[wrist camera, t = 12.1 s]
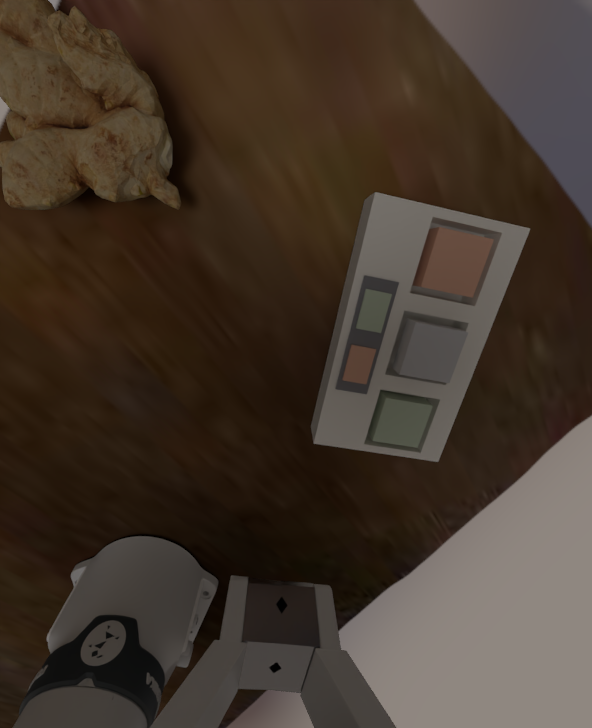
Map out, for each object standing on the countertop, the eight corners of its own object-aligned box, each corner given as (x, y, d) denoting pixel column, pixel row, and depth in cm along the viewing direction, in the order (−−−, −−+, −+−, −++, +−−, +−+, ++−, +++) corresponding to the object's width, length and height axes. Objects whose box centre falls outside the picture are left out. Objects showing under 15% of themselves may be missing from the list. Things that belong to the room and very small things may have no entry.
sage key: (410, 437, 35) (417, 447, 33) (367, 430, 34) (372, 440, 33) (424, 397, 33) (433, 405, 32) (380, 390, 33) (386, 398, 31)
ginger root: (174, 264, 29) (109, 250, 21) (28, 205, 30) (-84, 171, 22) (226, 72, 25) (170, -31, 17) (56, 14, 26) (-68, -107, 18)
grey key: (439, 375, 31) (449, 383, 29) (392, 367, 31) (399, 374, 29) (456, 327, 30) (468, 332, 28) (407, 318, 29) (415, 322, 27)
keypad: (424, 444, 37) (439, 464, 34) (310, 426, 36) (314, 445, 32) (503, 232, 30) (533, 228, 26) (364, 199, 29) (376, 191, 25)
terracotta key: (460, 295, 30) (472, 297, 28) (412, 285, 30) (420, 286, 28) (480, 240, 29) (494, 239, 27) (429, 229, 28) (439, 227, 26)
